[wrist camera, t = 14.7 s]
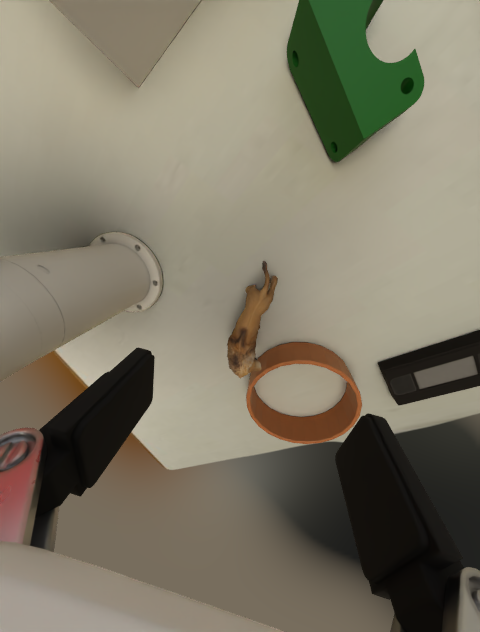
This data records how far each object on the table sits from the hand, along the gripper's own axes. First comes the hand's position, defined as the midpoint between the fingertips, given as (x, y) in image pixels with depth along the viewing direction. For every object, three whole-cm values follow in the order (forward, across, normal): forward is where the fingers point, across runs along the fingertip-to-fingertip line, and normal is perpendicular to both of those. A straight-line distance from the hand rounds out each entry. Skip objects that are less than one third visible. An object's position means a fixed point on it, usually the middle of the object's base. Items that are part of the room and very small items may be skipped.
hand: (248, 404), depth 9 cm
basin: (+23, -10, +17) cm, 31 cm away
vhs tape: (+23, -28, +6) cm, 37 cm away
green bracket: (+24, -2, -21) cm, 32 cm away
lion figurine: (+24, 0, +5) cm, 24 cm away
